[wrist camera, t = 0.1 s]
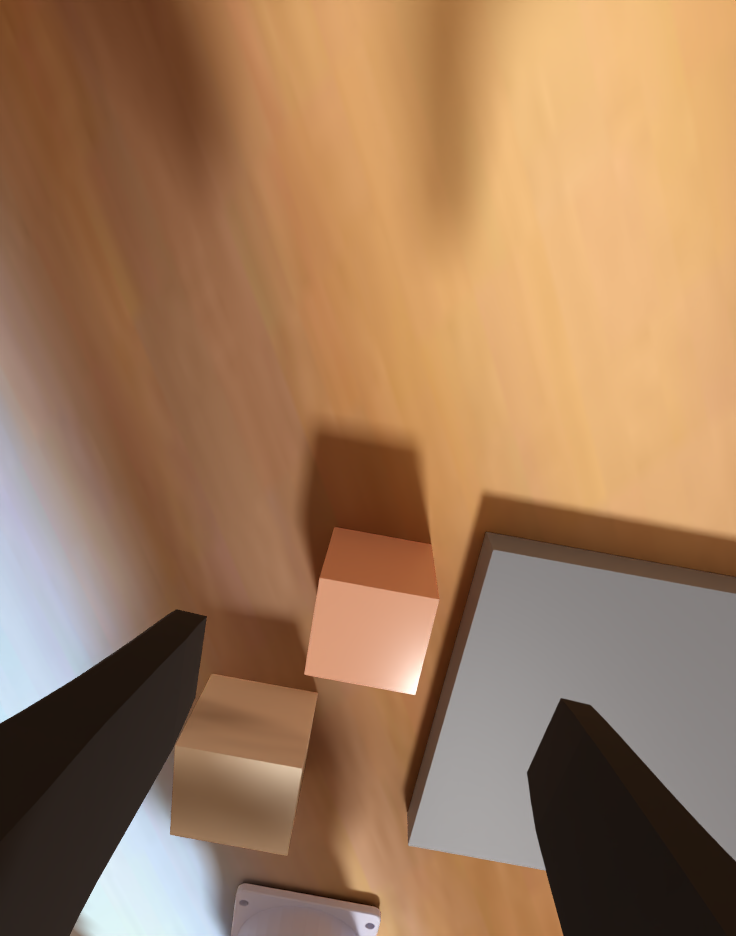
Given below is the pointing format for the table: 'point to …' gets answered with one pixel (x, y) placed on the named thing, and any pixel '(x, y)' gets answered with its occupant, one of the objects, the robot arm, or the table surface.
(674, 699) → the base board
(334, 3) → the table surface
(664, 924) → the robot arm
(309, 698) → the birch block
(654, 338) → the table surface
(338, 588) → the terracotta cube
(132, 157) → the table surface
